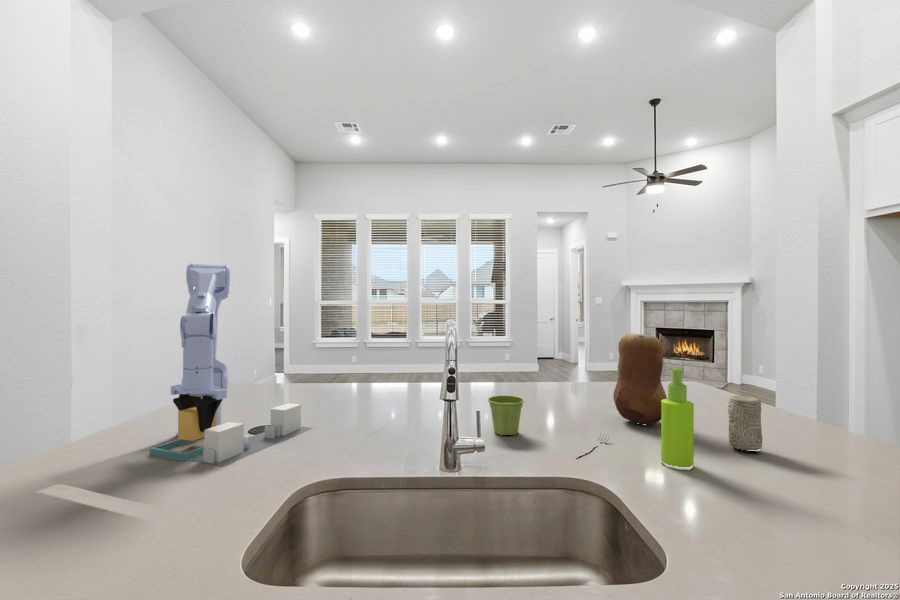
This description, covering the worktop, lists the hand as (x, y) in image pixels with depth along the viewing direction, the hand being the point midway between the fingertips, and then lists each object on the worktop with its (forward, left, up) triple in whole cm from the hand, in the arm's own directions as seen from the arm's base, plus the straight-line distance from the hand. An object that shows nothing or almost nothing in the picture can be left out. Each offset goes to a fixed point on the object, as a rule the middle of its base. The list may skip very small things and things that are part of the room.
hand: (197, 429), depth 93 cm
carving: (+114, +46, -6) cm, 123 cm away
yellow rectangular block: (0, 0, -1) cm, 1 cm away
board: (+10, +7, -5) cm, 13 cm away
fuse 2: (+10, +16, -4) cm, 19 cm away
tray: (0, 0, -5) cm, 5 cm away
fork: (+81, +34, -6) cm, 88 cm away
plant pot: (+60, +39, -6) cm, 72 cm away
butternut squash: (+93, +61, -6) cm, 111 cm away
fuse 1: (+10, -2, -4) cm, 11 cm away
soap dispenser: (+98, +31, -6) cm, 103 cm away
